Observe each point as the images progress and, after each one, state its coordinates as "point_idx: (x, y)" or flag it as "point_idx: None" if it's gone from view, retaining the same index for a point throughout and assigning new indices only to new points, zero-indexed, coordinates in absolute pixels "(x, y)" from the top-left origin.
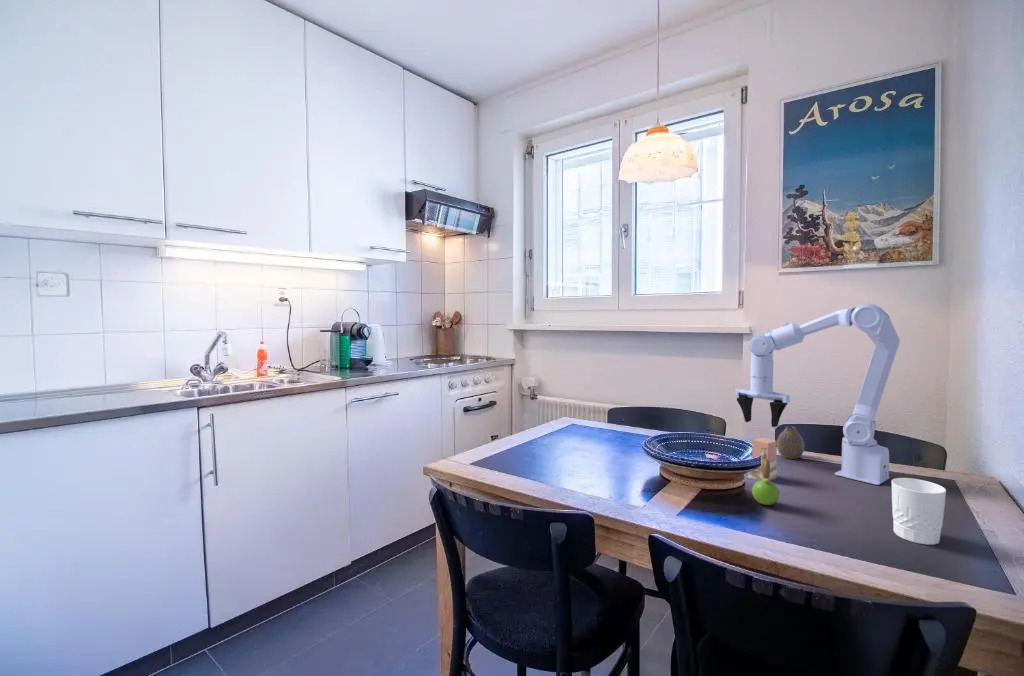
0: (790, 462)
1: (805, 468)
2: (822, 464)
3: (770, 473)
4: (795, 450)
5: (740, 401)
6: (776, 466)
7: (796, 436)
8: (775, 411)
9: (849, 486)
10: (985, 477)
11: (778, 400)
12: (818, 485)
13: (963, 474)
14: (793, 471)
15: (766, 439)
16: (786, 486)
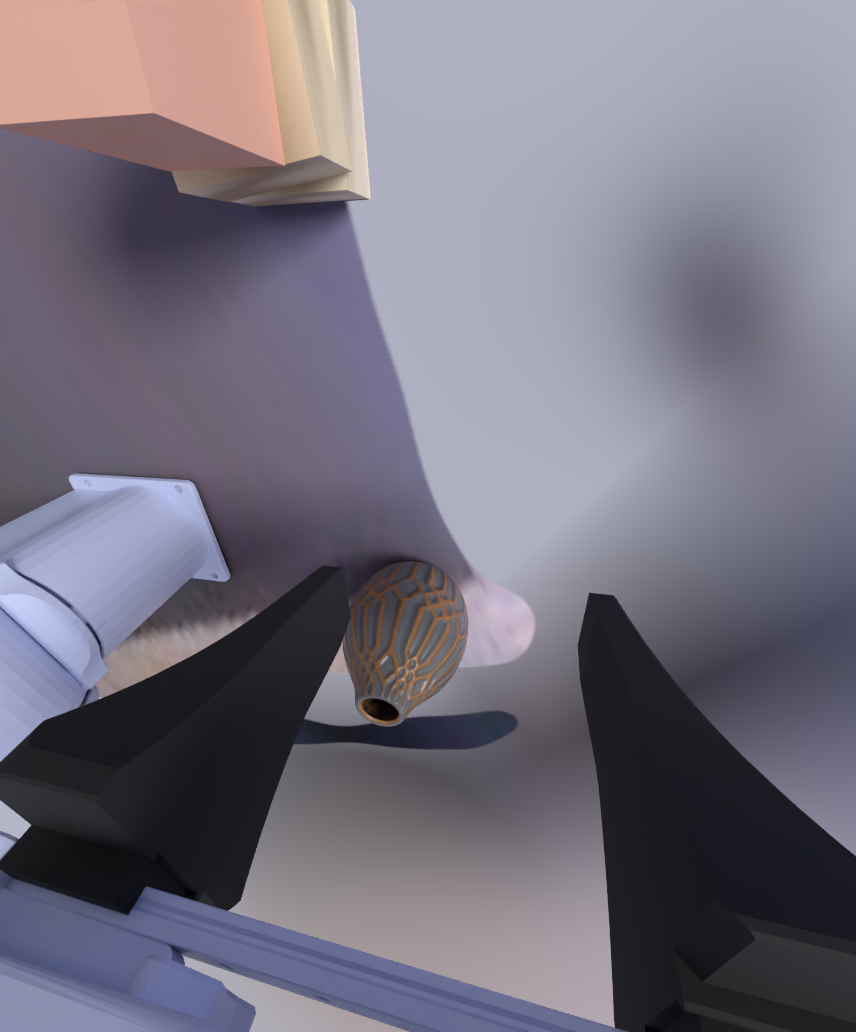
0: (377, 518)
1: (297, 484)
2: (300, 573)
3: None
4: (364, 584)
5: (795, 871)
6: (215, 198)
7: (349, 653)
8: (175, 672)
9: (84, 390)
10: None
11: (44, 881)
12: (113, 286)
13: (121, 688)
14: (292, 402)
15: (59, 66)
16: None
